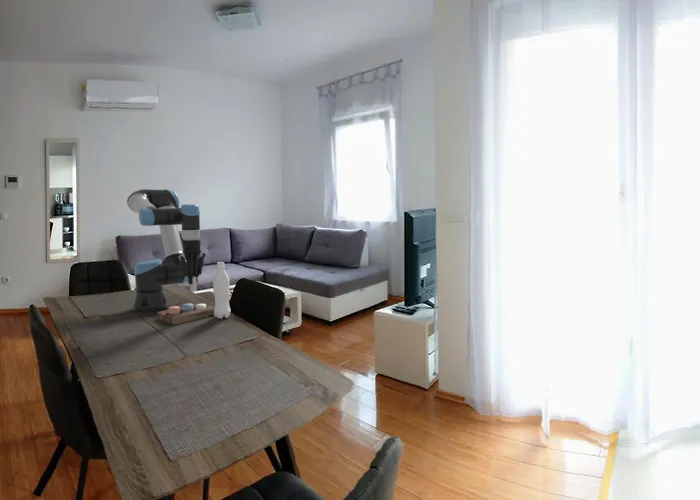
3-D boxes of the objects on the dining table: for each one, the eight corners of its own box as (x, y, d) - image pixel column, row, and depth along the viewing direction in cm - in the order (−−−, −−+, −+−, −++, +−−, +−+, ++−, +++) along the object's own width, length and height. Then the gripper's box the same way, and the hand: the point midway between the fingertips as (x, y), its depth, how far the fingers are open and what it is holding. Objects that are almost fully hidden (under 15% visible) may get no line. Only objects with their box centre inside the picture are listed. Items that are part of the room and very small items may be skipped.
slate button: (180, 313, 186) (180, 304, 185) (190, 311, 189) (189, 302, 188) (186, 315, 183) (185, 306, 182) (195, 313, 186) (194, 304, 186)
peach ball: (166, 316, 180) (166, 307, 180) (176, 314, 184) (176, 305, 183) (172, 318, 178) (171, 309, 177) (181, 316, 181) (181, 307, 181)
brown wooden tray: (157, 318, 182) (157, 312, 182) (200, 309, 199) (200, 303, 198) (174, 324, 174) (173, 318, 173) (217, 314, 190) (217, 307, 189)
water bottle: (233, 315, 188) (231, 261, 185) (227, 319, 181) (225, 263, 178) (218, 314, 189) (216, 260, 186) (211, 319, 182) (209, 263, 179)
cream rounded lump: (194, 313, 191) (193, 305, 190) (202, 311, 194) (202, 303, 194) (199, 315, 188) (199, 306, 188) (208, 313, 191) (207, 304, 191)
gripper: (183, 241, 177) (185, 294, 180) (209, 238, 187) (210, 289, 190) (173, 239, 181) (175, 292, 184) (199, 237, 192) (200, 287, 195)
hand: (193, 290), depth 187 cm, fingers closed
